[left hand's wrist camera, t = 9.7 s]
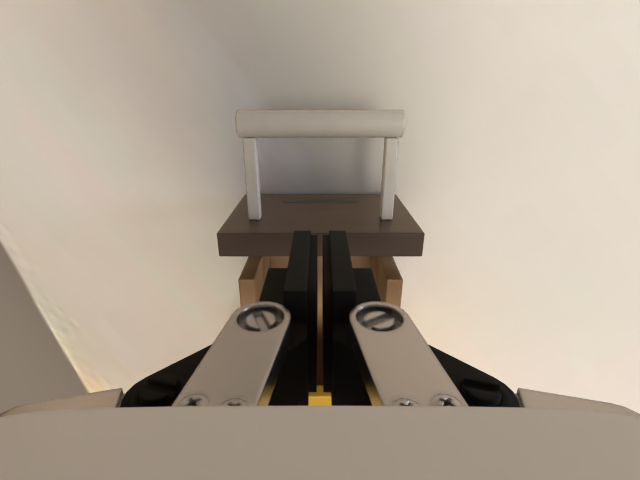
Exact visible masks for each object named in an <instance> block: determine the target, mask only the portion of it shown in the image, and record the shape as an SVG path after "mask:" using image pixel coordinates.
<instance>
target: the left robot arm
mask: <svg viewBox="0 0 640 480" xmlns="http://www.w3.org/2000/svg"><path fill="white" fill-rule="evenodd" d="M317 321H318V282H317V235H311V231H294V235H293V240H292V246H291V251H290V256H289V262H288V267H287V268H269V269H268V272H267V275H266V279H265V282H264V286H263V289H262V292H261V296H260V299H259V302H254V303H250V304H247V305H244V306H242V307H240V308H239V309H237V310H236V311H235V312H234V313H233V314H232V315H231V317H230V318H229V320H228V321H227V323H226V324H225V326H224V327H223V329H222V330H221V332H220V333H219V335H218V336H217V338H216V339H215V341H214V343H213V344H212V345H210V346H208V347H206V348H204V349H202V350H200V351H198V352H196V353H194V354H192V355H190V356H188V357H186V358H184V359H182V360H180V361H178V362H176V363H174V364H172V365H170V366H168V367H166V368H164V369H162V370H160V371H158V372H156V373H154V374H152V375H150V376H148V377H146V378H144V379H143V380H141V381H139V382H138V383H136V384H135V385H134V386H133V387H132V388H130V389H129V390H128V391H127V392H126V394H123V390H122V388H118V389H112V390H106V391H100V392H94V393H88V394H82V395H76V396H70V397H64V398H58V399H52V400H45V401H40V402H33V403H28V404H24V405H21V406H17V407H14V408H12V409H10V410H8V411H6V412H3V413H1V414H0V480H640V414H639V413H637V412H634V411H632V410H630V409H628V408H626V407H623V406H619V405H616V404H612V403H607V402H601V401H595V400H588V399H582V398H576V397H570V396H564V395H558V394H552V393H546V392H540V391H534V390H528V389H522V388H518V390H517V394H514V392H513V391H512V390H511V389H510V388H508V387H507V386H506V385H505V384H504V383H502V382H501V381H499V380H497V379H496V378H494V377H492V376H490V375H488V374H486V373H484V372H482V371H480V370H478V369H476V368H474V367H472V366H470V365H468V364H466V363H464V362H462V361H460V360H458V359H456V358H454V357H452V356H450V355H448V354H446V353H444V352H442V351H440V350H438V349H436V348H434V347H432V346H430V345H428V344H427V343H426V341H425V339H424V338H423V336H422V335H421V333H420V332H419V330H418V329H417V327H416V326H415V324H414V323H413V321H412V320H411V318H410V317H409V315H408V314H407V313H406V312H405V311H404V310H403V309H401V308H400V307H398V306H396V305H393V304H390V303H386V302H381V299H380V296H379V292H378V289H377V286H376V282H375V279H374V275H373V272H372V269H371V268H353V267H352V262H351V256H350V251H349V246H348V240H347V235H346V231H329V235H323V281H322V321H323V392H331V405H332V406H308V405H309V392H317Z"/></svg>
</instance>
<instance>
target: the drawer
mask: <svg viewBox="0 0 640 480" xmlns="http://www.w3.org/2000/svg"><path fill="white" fill-rule="evenodd" d="M405 126H406V115H405V111H404V110H238V111H237V112H236V131H237V134H238V136H239V137H244V138H243V151H244V164H245V177H246V190H247V194H246V195H245V196H244V197H243V198H242V200H241V201H240V203H239V204H238V205H237V207H236V208H235V209H234V211H233V212H232V213H231V215H230V216H229V218H228V219H227V220H226V222H225V223H224V224H223V226H222V227H221V229H220V230H219V231H218V233H217V239H218V248H219V256H249V257H248V259H247V262H246V264H245V266H244V269H243V271H242V273H241V275H240V278H239V291H240V302H241V307H242V306H244V305H247V304H250V303H254V302H259V299H260V296H261V292H262V289H263V286H264V282H265V279H266V275H267V272H268V269H269V268H287V267H288V262H289V256H290V251H291V246H292V240H293V235H294V231H311V235H317V282H318V321H317V386H323V321H322V281H323V235H329V231H346V235H347V240H348V246H349V251H350V256H351V262H352V267H353V268H371V269H372V272H373V275H374V279H375V282H376V286H377V289H378V292H379V296H380V299H381V302H386V303H390V304H393V305H396V306H398V307H400V305H401V294H402V283H403V279H402V277H401V275H400V272H399V270H398V268H397V266H396V263H395V261H394V259H393V256H422V251H423V242H424V232H423V231H422V230H421V228H420V227H419V225H418V224H417V223H416V221H415V220H414V219H413V217H412V216H411V215H410V213H409V212H408V210H407V209H406V208H405V206H404V205H403V204H402V202H401V201H400V200H399V198H398V197H397V196H396V195H395V180H396V167H397V154H398V141H399V139H398V138H397V137H403V135H404V132H405ZM256 137H385V138H384V154H383V170H382V186H381V194H260V181H259V165H258V149H257V138H256Z"/></svg>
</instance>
